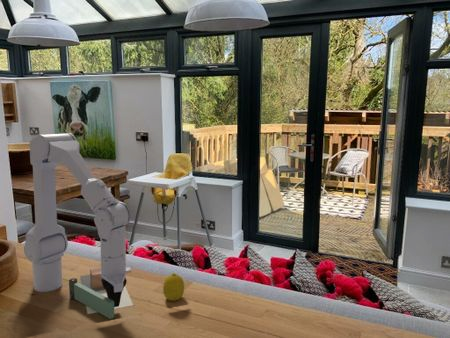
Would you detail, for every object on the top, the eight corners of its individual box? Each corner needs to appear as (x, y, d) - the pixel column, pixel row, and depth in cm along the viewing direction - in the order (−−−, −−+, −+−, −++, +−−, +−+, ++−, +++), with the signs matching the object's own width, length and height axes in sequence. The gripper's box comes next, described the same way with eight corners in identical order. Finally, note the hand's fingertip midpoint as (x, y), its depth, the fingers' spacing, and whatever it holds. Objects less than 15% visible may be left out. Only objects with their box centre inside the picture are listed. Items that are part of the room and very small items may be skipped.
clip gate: (78, 296, 98) (78, 282, 97) (114, 316, 89) (114, 301, 89) (74, 298, 97) (73, 284, 97) (110, 319, 88) (109, 303, 88)
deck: (80, 279, 111) (80, 276, 111) (118, 273, 116) (118, 270, 116) (87, 317, 91) (87, 314, 91) (133, 308, 96) (133, 305, 96)
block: (90, 281, 108) (90, 267, 108) (108, 278, 110) (108, 265, 110) (92, 288, 104) (92, 275, 103) (111, 285, 106) (110, 272, 105)
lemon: (184, 296, 103) (185, 269, 101) (183, 307, 97) (183, 278, 96) (164, 296, 102) (164, 268, 101) (161, 307, 97) (161, 277, 96)
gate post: (69, 300, 99) (68, 279, 98) (77, 299, 100) (76, 277, 99) (70, 304, 97) (69, 282, 96) (78, 302, 98) (77, 280, 97)
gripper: (136, 262, 85) (137, 318, 87) (124, 241, 98) (125, 290, 100) (104, 267, 82) (105, 324, 84) (96, 245, 95) (97, 295, 97)
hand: (114, 306), depth 92 cm, fingers closed
